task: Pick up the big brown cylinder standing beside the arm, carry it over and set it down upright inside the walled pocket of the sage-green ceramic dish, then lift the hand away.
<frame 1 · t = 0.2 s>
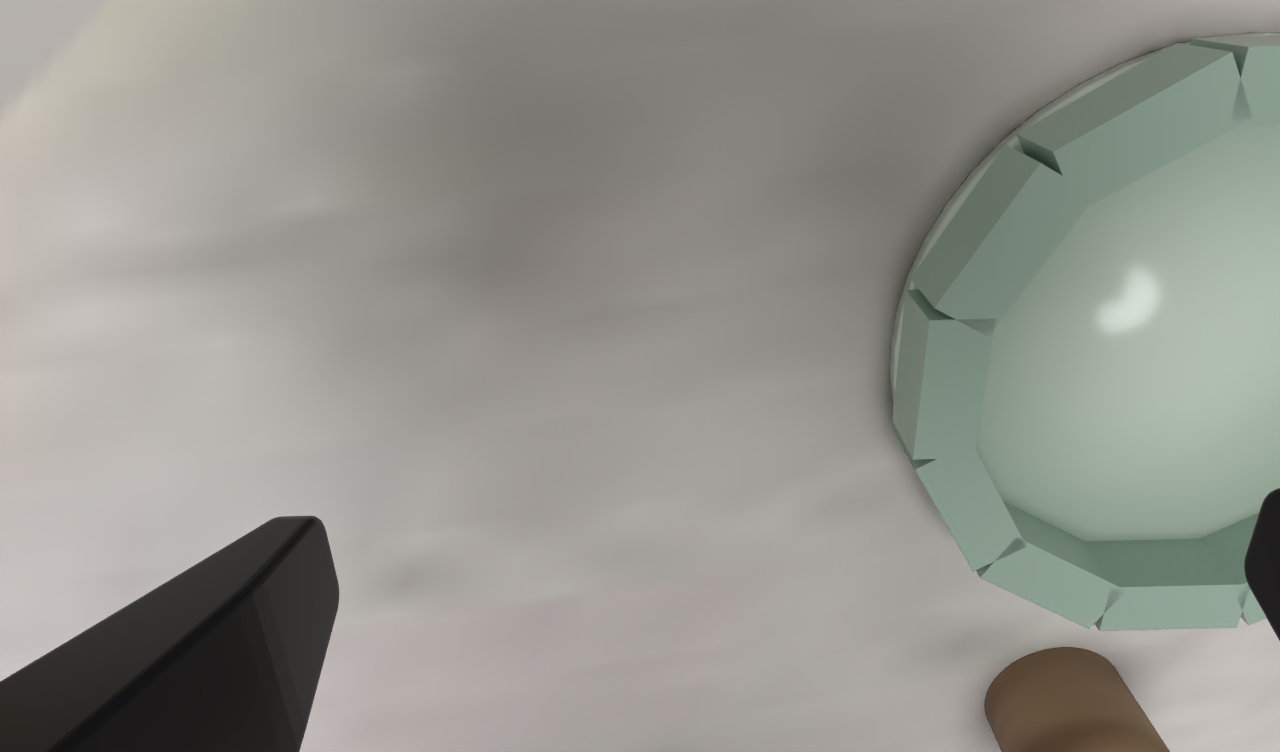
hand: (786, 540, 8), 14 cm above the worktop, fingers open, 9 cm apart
dish: (1176, 336, 23), on the worktop
brown cylinder: (1052, 697, 29), on the worktop
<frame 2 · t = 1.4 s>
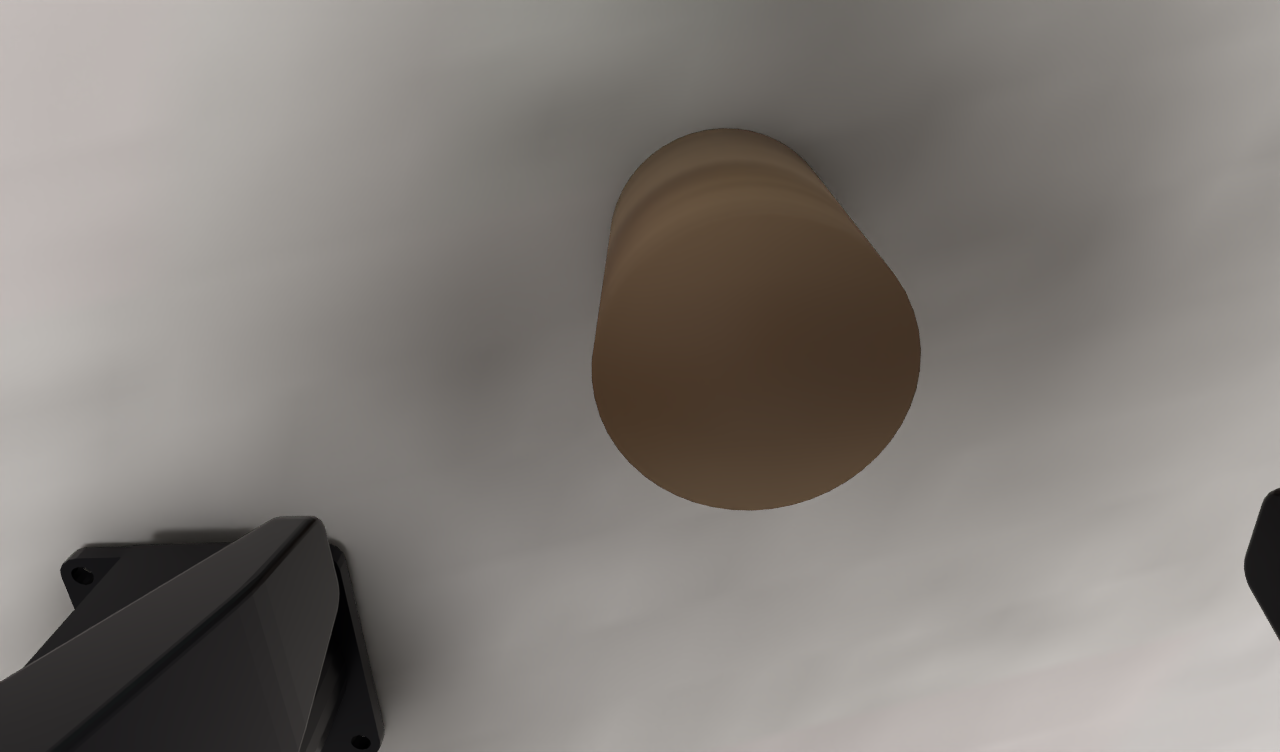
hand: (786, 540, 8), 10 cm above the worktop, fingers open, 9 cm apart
brown cylinder: (721, 242, 17), on the worktop
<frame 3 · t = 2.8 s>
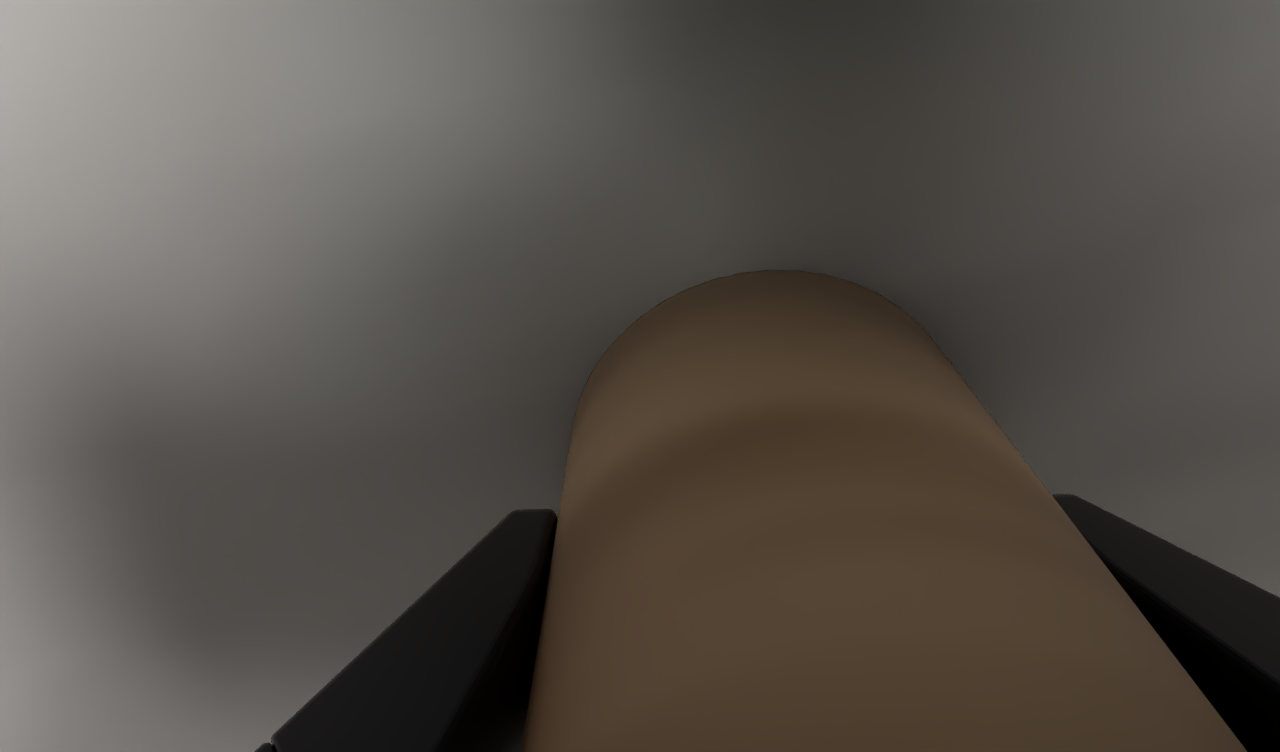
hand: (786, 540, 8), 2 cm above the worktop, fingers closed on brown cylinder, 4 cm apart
brown cylinder: (766, 456, 10), on the worktop, touching gripper
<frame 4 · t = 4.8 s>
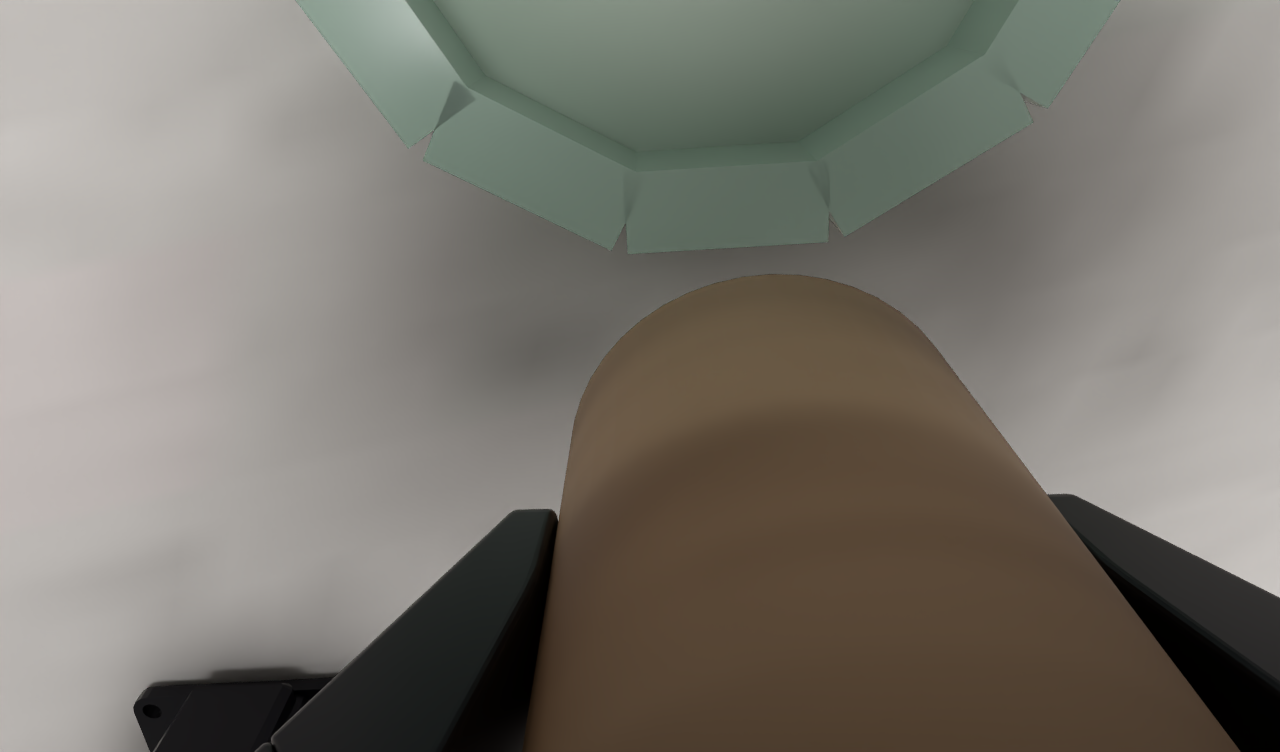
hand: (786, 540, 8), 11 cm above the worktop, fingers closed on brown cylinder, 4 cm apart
brown cylinder: (765, 460, 10), point 10 cm above the worktop, touching gripper
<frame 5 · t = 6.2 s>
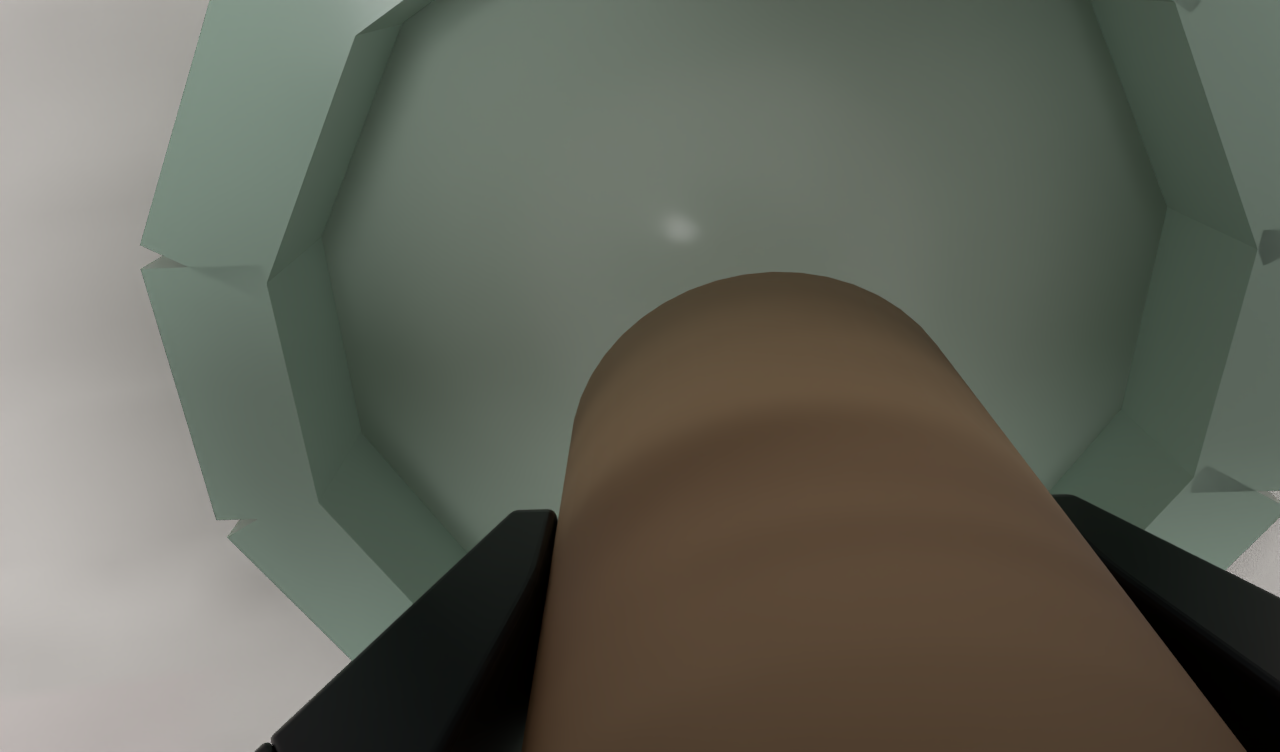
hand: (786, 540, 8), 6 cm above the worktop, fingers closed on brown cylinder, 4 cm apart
dish: (733, 307, 14), on the worktop
brown cylinder: (766, 458, 10), point 4 cm above the worktop, touching gripper
when the fingers open (3 cm above the worktop, at t = 7.0 s): brown cylinder drops 1 cm, resting on dish.
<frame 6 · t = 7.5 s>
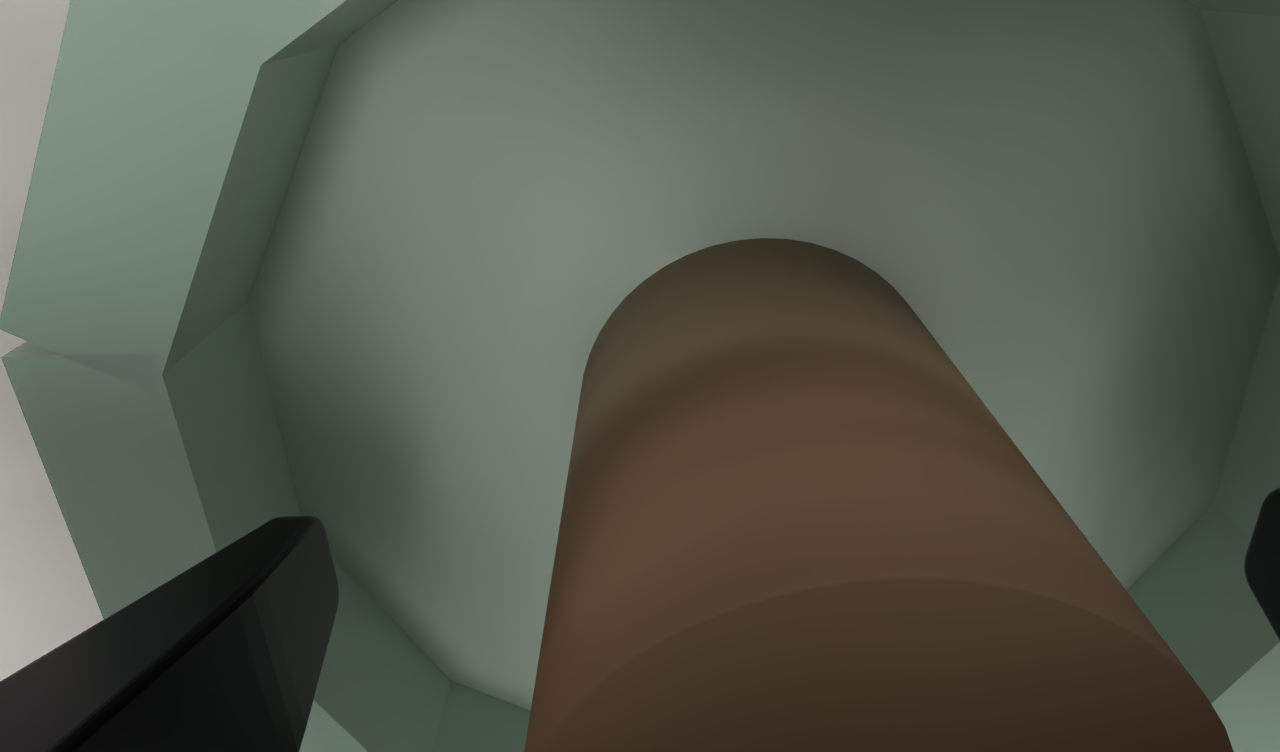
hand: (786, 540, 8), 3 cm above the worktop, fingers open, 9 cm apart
dish: (748, 379, 11), on the worktop
brown cylinder: (757, 409, 11), point 1 cm above the worktop, touching dish
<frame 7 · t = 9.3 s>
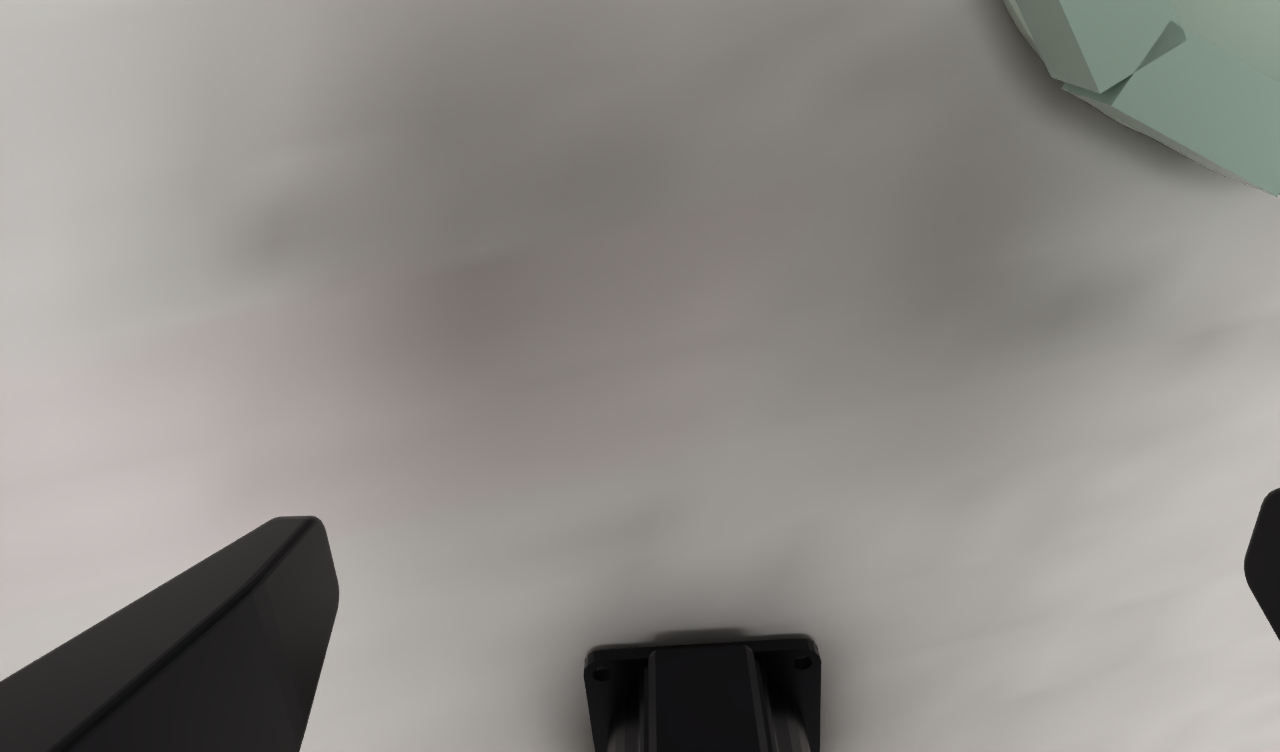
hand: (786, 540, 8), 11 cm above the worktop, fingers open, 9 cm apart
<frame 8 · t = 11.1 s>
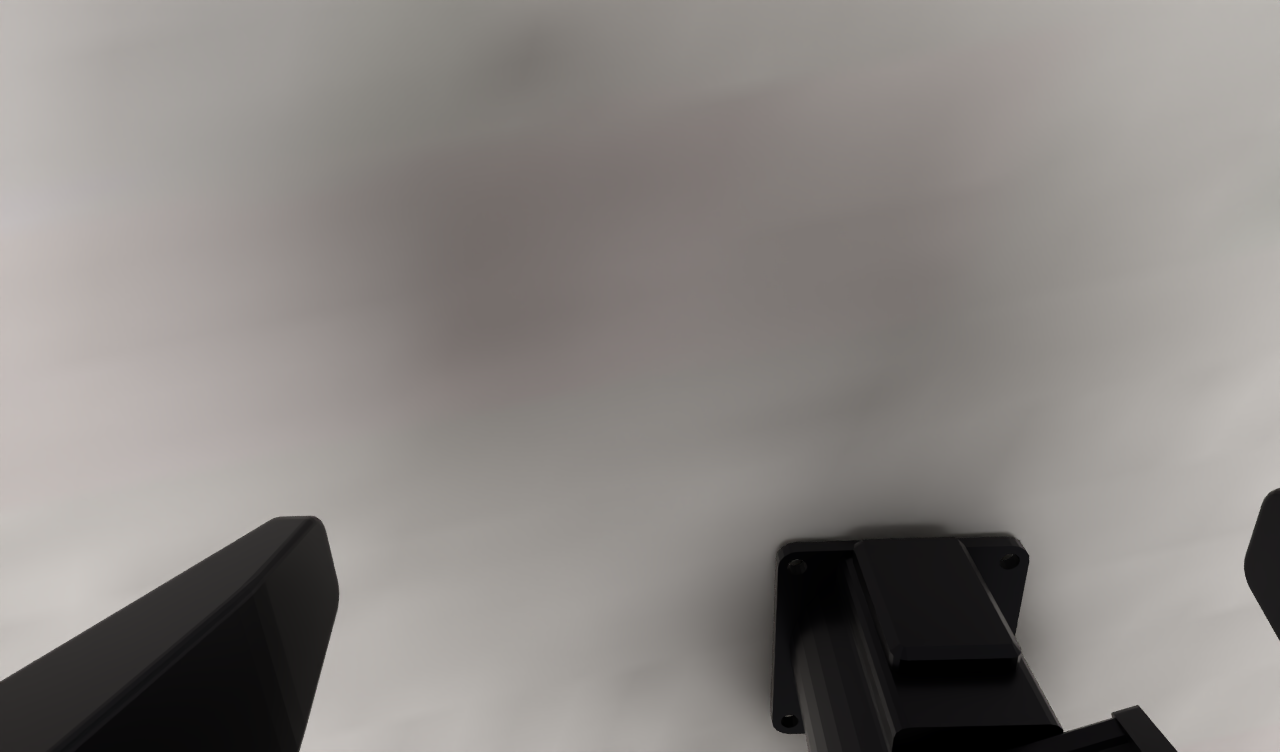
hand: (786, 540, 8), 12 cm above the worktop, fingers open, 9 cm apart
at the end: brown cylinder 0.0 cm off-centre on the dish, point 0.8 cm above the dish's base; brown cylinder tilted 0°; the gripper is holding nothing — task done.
